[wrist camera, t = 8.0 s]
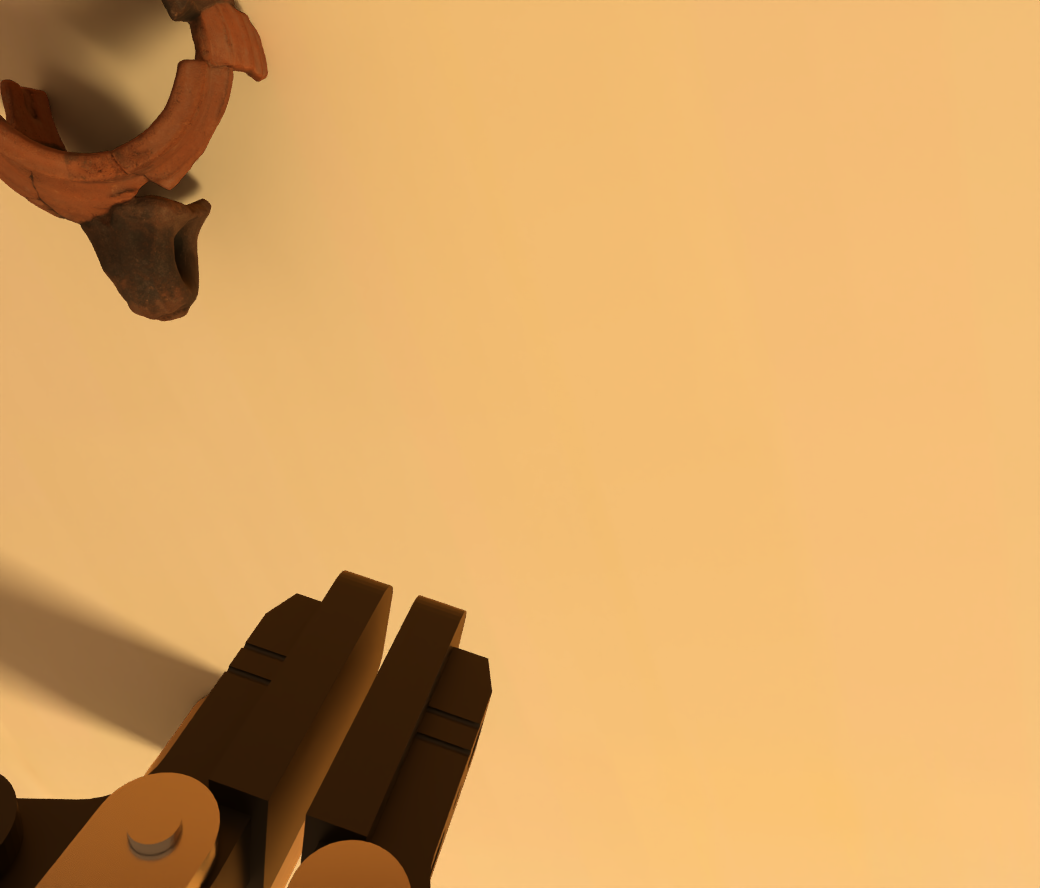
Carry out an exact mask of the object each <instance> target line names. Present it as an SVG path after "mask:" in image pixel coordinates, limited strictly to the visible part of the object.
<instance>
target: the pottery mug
mask: <svg viewBox="0 0 1040 888" xmlns="http://www.w3.org/2000/svg"><path fill="white" fill-rule="evenodd" d="M161 1H162V3H163V4H164V6H165V8H166V9H167V11H168V13H169V16H170V17H171V19H172V20H174V21H183V22H188V23H189V24H190V29H191V33H192V38H193V41H194V44H195V50H196V52H195V60H182V61H180V62H179V63H178V66H177V73H176V77H175V80H174V84H173V88H172V91H171V94H170V97H169V99H168V102H167V104H166V106H165V108H164V110H163V111H162V112H161V114H160V115H159V116H158V117H157V119H156V120H155V121H154V122H153V123H152V124H151V126H150V127H149V128H148V129H146V130H145V131H144V132H143V133H141V134H140V135H138V136H137V137H136V138H134V139H132V140H131V141H129V142H127V143H125V144H123V145H121V146H119V147H117V148H116V149H114V150H112V151H104V152H98V153H76V152H67V151H66V149H65V146H64V144H63V143H62V141H61V138H60V136H59V134H58V131H57V128H56V126H55V123H54V121H53V118H52V114H51V110H50V106H49V100H48V97H47V94H46V93H45V92H44V91H42V90H37V89H32V88H27V87H21V86H20V85H19V84H17V83H16V82H14V81H12V80H3V81H1V83H0V88H1V96H2V100H3V104H4V108H5V113H6V120H5V119H4V118H3V117H2V116H1V115H0V179H1V180H2V181H4V182H5V183H6V184H7V185H8V186H9V187H10V188H12V189H13V190H14V191H16V192H17V193H19V194H20V195H21V196H23V197H25V198H26V199H27V200H28V201H30V202H31V203H33V204H35V205H36V206H38V207H39V208H41V209H43V210H45V211H47V212H49V213H51V214H52V215H54V216H56V217H59V218H63V219H67V220H70V221H73V222H75V223H78V224H80V225H81V227H82V229H83V231H84V232H85V233H86V235H87V236H88V238H89V240H90V242H91V243H92V245H93V247H94V250H95V252H96V254H97V257H98V259H99V261H100V264H101V266H102V269H103V271H104V272H105V273H106V275H107V276H108V277H109V278H110V279H111V281H112V282H113V283H114V285H115V286H116V288H117V290H118V292H119V293H120V294H121V296H122V297H123V298H124V300H125V301H127V303H128V306H129V308H130V309H131V310H132V311H133V312H134V313H136V314H138V315H141V316H144V317H146V318H149V319H153V320H155V319H157V320H160V321H169V320H174V319H177V318H181V317H183V316H185V315H186V314H187V313H188V310H189V308H190V306H191V305H192V304H193V302H194V301H195V300H196V297H197V295H198V289H199V270H198V255H197V238H198V234H199V232H200V229H201V227H202V225H203V223H204V221H205V219H206V218H207V216H208V215H209V213H210V210H211V205H210V203H209V202H208V201H207V200H205V199H200V200H198V201H196V202H193V203H191V204H188V205H184V204H182V203H180V202H177V201H174V200H170V199H168V198H164V197H161V196H155V195H149V196H144V197H136V196H135V195H136V194H137V192H138V190H139V189H140V188H141V187H142V186H143V185H144V184H146V183H147V182H148V181H149V182H154V183H156V184H158V185H160V186H161V187H163V188H165V189H167V190H171V189H172V188H173V187H175V186H176V185H177V184H178V183H179V182H180V180H181V179H182V178H183V177H184V176H185V174H186V173H187V172H188V171H189V170H190V169H191V167H192V165H193V164H194V162H195V161H196V160H197V159H198V158H199V157H200V156H201V155H202V154H203V153H204V151H205V149H206V147H207V145H208V143H209V141H210V139H211V137H212V135H213V133H214V131H215V129H216V127H217V126H218V124H219V122H220V120H221V118H222V116H223V115H224V112H225V109H226V107H227V104H228V101H229V97H230V93H231V88H232V81H233V71H241V72H245V73H246V74H247V75H248V76H250V77H252V78H253V79H254V80H255V81H257V82H259V81H261V80H263V79H265V78H266V77H267V74H268V71H267V63H266V58H265V54H264V51H263V47H262V43H261V39H260V36H259V34H258V32H257V30H256V29H255V28H254V26H253V25H251V23H250V20H249V17H248V16H247V15H246V14H245V13H242V12H240V11H238V10H237V9H236V8H235V7H234V0H161Z"/></svg>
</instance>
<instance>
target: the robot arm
mask: <svg viewBox="0 0 1040 888" xmlns="http://www.w3.org/2000/svg"><path fill="white" fill-rule="evenodd" d="M392 594H393V587H392V586H390V585H387V584H384V583H381V582H378V581H375V580H373V579H370V578H367V577H364V576H361V575H358V574H355V573H352V572H349V571H346V570H345V571H343V572H342V573H341V574H340V575H339V576H338V577H337V579H336V580H335V582H334V583H333V585H332V586H331V588H330V590H329V591H328V593H327V594H326V596H325V597H324V599H323V601H322V602H321V601H318V600H315V599H312V598H309V597H306V596H303V595H300V594H295V595H294V596H292V597H291V598H289V599H287V600H286V601H284V602H283V603H281V604H280V605H278V606H277V607H275V608H274V609H272V610H271V611H269V612H268V613H266V614H265V616H264V617H263V618H262V620H261V621H260V623H259V624H258V625H257V627H256V628H255V630H254V631H253V633H252V634H251V635H250V637H249V638H248V640H247V641H246V644H245V646H244V648H241V650H240V651H239V652H238V654H237V655H236V657H235V658H234V659H233V661H232V662H231V664H230V665H229V668H228V671H227V672H224V674H223V675H222V676H221V678H220V679H219V681H218V682H217V684H216V685H215V686H214V688H213V689H212V691H211V692H210V693H209V695H208V696H206V697H205V698H203V699H201V700H200V701H198V702H197V704H196V705H195V706H194V707H193V709H192V710H191V711H190V713H189V714H188V716H187V717H186V718H185V720H184V721H183V722H182V724H181V725H180V727H179V728H178V729H177V731H176V732H175V734H174V735H173V736H172V738H171V739H170V741H169V742H168V743H167V745H166V746H165V748H164V749H163V750H162V752H161V753H160V754H159V756H158V757H157V759H156V760H155V761H154V762H153V764H152V765H151V767H150V768H149V769H148V771H147V772H146V774H145V775H144V776H143V777H140V778H137V779H135V780H133V781H130V782H128V783H127V784H125V785H123V786H122V787H120V788H118V789H117V790H116V791H115V792H114V793H112V794H110V795H107V796H104V797H98V798H93V799H78V800H73V799H25V798H16V794H15V791H14V789H13V787H12V785H11V783H10V782H9V781H8V780H7V779H6V778H5V777H4V776H2V775H1V774H0V888H285V886H286V884H287V882H288V880H289V878H290V876H291V874H292V872H293V870H294V868H295V866H296V863H297V861H298V859H299V857H300V855H301V853H302V856H301V865H300V866H299V867H298V869H297V870H296V871H295V873H294V875H293V877H292V879H291V881H290V883H289V885H288V887H287V888H430V879H431V877H432V874H433V871H434V868H435V865H436V862H437V859H438V856H439V854H440V851H441V848H442V845H443V842H444V839H445V836H446V834H447V831H448V828H449V825H450V822H451V819H452V816H453V813H454V811H455V808H456V805H457V802H458V799H459V796H460V793H461V790H462V788H463V785H464V782H465V779H466V776H467V773H468V770H469V768H470V765H471V762H472V759H473V756H474V753H475V749H476V746H477V742H478V739H479V735H480V732H481V728H482V725H483V721H484V718H485V715H486V711H487V708H488V704H489V701H490V697H491V694H492V687H491V679H490V671H489V663H488V658H485V657H482V656H479V655H476V654H473V653H470V652H467V651H465V650H462V649H459V643H460V639H461V635H462V631H463V627H464V623H465V618H466V611H465V610H462V609H459V608H456V607H453V606H450V605H447V604H444V603H441V602H438V601H435V600H432V599H429V598H426V597H423V596H420V595H419V596H418V597H417V598H416V599H415V601H414V603H413V605H412V607H411V609H410V611H409V613H408V614H407V616H406V618H405V620H404V622H403V624H402V626H401V628H400V630H399V632H398V634H397V636H396V638H395V640H394V642H393V644H392V646H391V648H390V650H389V652H388V654H387V656H386V658H385V660H384V662H383V664H382V666H381V668H380V670H379V671H378V669H379V666H380V663H381V659H382V655H383V649H384V643H385V637H386V631H387V625H388V619H389V613H390V607H391V601H392ZM377 672H378V673H377Z"/></svg>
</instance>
